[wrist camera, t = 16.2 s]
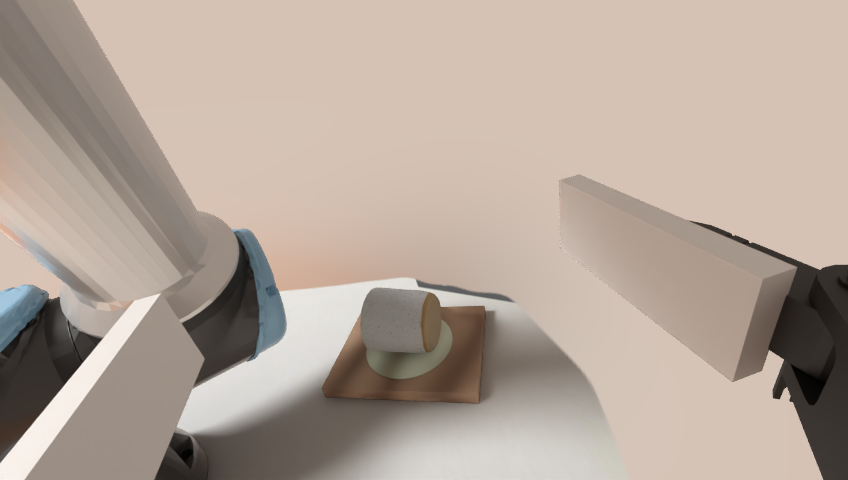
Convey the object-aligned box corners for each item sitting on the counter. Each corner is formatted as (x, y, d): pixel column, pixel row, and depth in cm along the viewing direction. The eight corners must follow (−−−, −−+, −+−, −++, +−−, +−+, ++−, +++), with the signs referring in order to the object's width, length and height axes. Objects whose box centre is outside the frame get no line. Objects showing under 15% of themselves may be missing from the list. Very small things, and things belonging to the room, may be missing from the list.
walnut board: (325, 397, 43) (321, 387, 42) (365, 317, 55) (362, 308, 54) (478, 403, 38) (476, 392, 37) (485, 314, 50) (484, 304, 49)
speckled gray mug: (435, 368, 41) (422, 314, 38) (369, 364, 43) (351, 314, 40) (451, 308, 50) (442, 260, 47) (396, 308, 52) (383, 263, 49)
